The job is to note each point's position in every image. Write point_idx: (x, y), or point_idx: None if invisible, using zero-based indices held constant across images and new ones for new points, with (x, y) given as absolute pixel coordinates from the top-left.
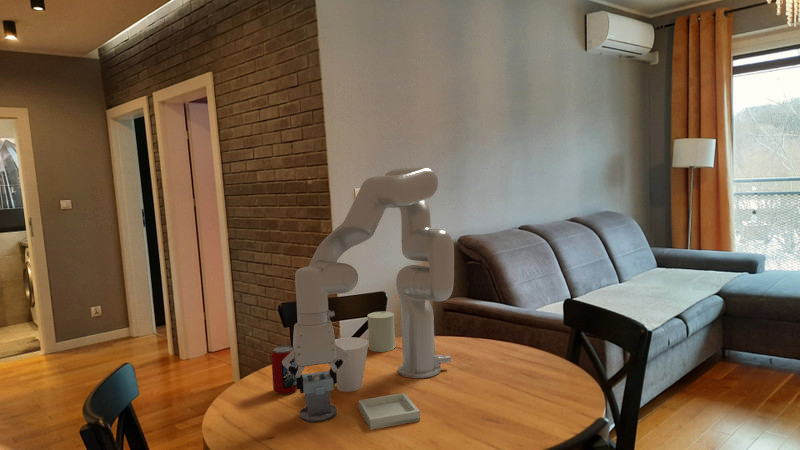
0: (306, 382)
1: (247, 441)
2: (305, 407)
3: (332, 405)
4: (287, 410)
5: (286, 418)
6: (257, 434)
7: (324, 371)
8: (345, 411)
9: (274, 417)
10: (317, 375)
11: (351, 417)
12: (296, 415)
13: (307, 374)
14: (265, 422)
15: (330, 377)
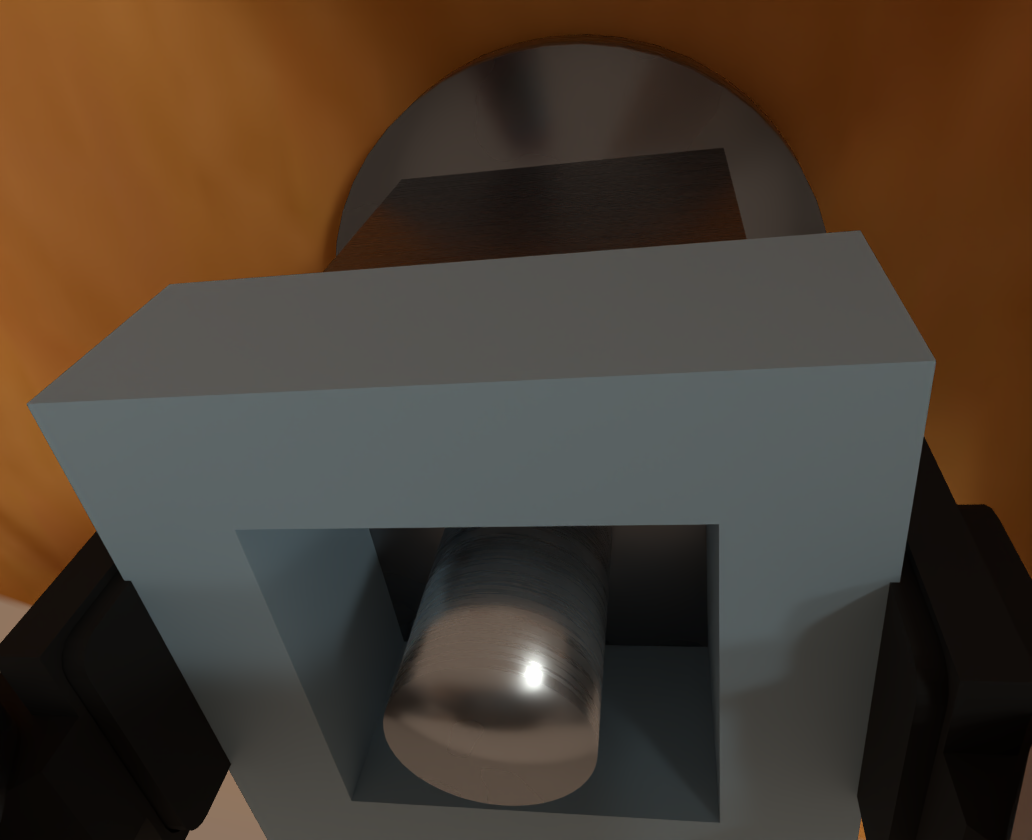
0: (307, 812)
1: (15, 582)
2: (394, 148)
3: (796, 199)
4: (146, 14)
5: (203, 272)
6: (41, 508)
7: (787, 368)
8: (939, 297)
9: (51, 201)
10: (518, 775)
11: (945, 471)
12: (305, 224)
13: (233, 442)
14: (4, 302)
15: (834, 791)
